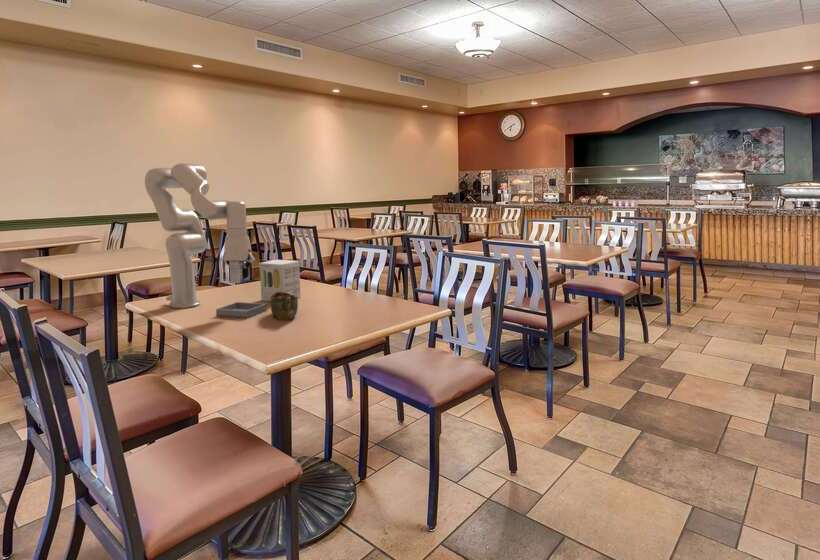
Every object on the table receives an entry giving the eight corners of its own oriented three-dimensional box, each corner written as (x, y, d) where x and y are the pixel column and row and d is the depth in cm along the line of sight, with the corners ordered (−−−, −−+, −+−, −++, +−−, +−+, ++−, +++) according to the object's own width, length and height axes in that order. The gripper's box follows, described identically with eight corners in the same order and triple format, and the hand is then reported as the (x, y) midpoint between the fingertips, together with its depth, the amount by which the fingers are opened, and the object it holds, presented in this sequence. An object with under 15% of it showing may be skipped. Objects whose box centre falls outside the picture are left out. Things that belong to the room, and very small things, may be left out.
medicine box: (240, 283, 208) (239, 261, 206) (230, 283, 209) (228, 261, 207) (250, 280, 215) (249, 259, 214) (240, 279, 216) (239, 259, 215)
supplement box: (260, 300, 240) (258, 262, 237) (278, 295, 252) (276, 259, 249) (284, 302, 235) (282, 264, 232) (301, 297, 247) (299, 260, 244)
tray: (216, 316, 210) (216, 309, 209) (237, 308, 223) (237, 301, 222) (246, 318, 206) (246, 311, 205) (266, 311, 219) (265, 304, 218)
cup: (259, 322, 200) (258, 296, 198) (275, 311, 219) (274, 287, 218) (292, 323, 199) (291, 297, 197) (305, 311, 219) (305, 288, 217)
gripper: (213, 232, 208) (216, 278, 211) (250, 233, 203) (252, 279, 206) (225, 231, 215) (227, 275, 218) (261, 232, 210) (263, 276, 213)
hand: (239, 276), depth 212 cm, fingers closed on medicine box, 4 cm apart
